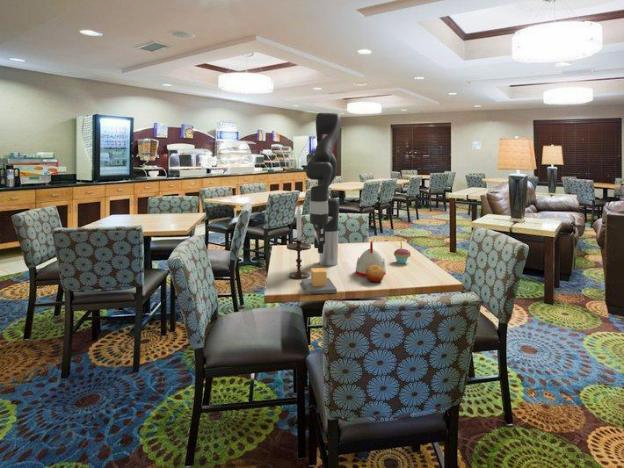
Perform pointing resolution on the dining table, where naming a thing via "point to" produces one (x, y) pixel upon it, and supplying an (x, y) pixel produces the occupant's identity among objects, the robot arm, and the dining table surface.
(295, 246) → the candlestick
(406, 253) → the cupcake
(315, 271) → the peach colored cube
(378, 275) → the fruit
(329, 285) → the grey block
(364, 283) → the dining table surface
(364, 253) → the kitchen timer
